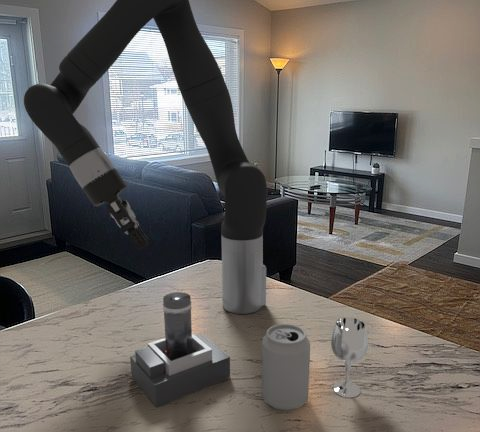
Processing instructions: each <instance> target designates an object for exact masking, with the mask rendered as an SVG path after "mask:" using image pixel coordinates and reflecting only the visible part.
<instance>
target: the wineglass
mask: <svg viewBox="0 0 480 432" xmlns="http://www.w3.org/2000/svg"><path fill="white" fill-rule="evenodd" d="M367 331H368V330H367V327H366V324H365V322H364V321H362V320H361V319H359V318H355V317H350V316H349V317H348V316H347V317H341V318H338V319H337V320H336V321H335V323H334V326H333V329H332V334H331V338H330V346H331V351H332V353H333V354H334V356H335V357H336V358H337V359H339V360H341V361H343V362H345V363H344V367H345V368H344V369H345V380H340V381H337V382H335V383H334V384H333V386H332V390H333V392H334V393H335V394H336V395H338V396H340V397H342V398H347V399H349V398H356V397H358V396H359V395H360V393H361V389H360V386H359V385H357V384H356V383H355V382H352V381H349V379H350V378H349V376H350V370H351V368H352V363H355V362H358V361H361V360H362V359H363V358H364V357H365V356H366V354H367V350H368V346H369V345H368V344H369V342H368V341H369V340H368V339H369V338H368V333H367Z"/></svg>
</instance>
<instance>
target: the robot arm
mask: <svg viewBox="0 0 480 432" xmlns="http://www.w3.org/2000/svg"><path fill="white" fill-rule="evenodd" d="M152 19H153V21H154V22H155V24H156V26H157V28H158V30H159V33H160V35H161V37H162V39H163V42H164V45H165V49H166V51H167V55H168V59H169V63H170V65H171V70H172V72H173V73H172V74H173V75H174V78H175V81H176V84H177V87H178V90H179V92H180V95H181V97H182V100H183V103H184V104H185V107H186V108H187V111H188V114H189V115H190V118H191V120H192V122H193V124H194V126H195V128H196V130H197V132H198V133H199V136H200V138H201V140H202V142H203V143H204V145H205V148H206V150H207V153H208V156H209V159H210V162H211V166H212V169H213V173H214V176H215V179H216V183H217V184H216V185H217V187H218V189H219V191H220V193H221V194H222V196H223V198H224V217H223V218H224V219H223V221H222V222H221V226H220V227H221V229H220V230H221V233H220V234H221V235H220V236H221V278H222V279H221V283H222V284H221V286H222V287H221V288H222V289H221V290H222V293H221V294H222V307H223V309H224V310H226V311H227V312H229V313H232V314H240V315H241V314H242V315H247V314H252V313H256V312H258V311H260V310H261V309H262V307H263V306H266V305H267V266H266V265H265V264H264V263H263V261H264V258H263V257H264V256H263V255H264V253H263V252H264V251H263V249H264V247H263V245H264V243H263V241H264V239H263V238H264V237H263V236H264V226H265V224H266V220H267V201H268V200H267V199H268V198H267V197H268V184H267V180H266V176H265V174H264V173H263V171H261V169H260V168H259V167H257V166H256V165H253V164H251V163H250V161H249V159H248V157H247V155H246V153H245V151H244V149H243V146H242V144H241V142H240V140H239V138H238V136H239V135H238V134H237V129H236V123H235V114H234V108H233V107H234V106H233V102H232V98H231V95H230V91H229V89H228V86H227V83H226V81H225V78H224V76H223V73H222V70H221V67H220V66H219V63H218V62H217V60H216V58H215V55H214V54H213V52H212V50H211V49H210V47H209V46H208V43H207V41H205V39H204V37H203V35H202V34H201V31H200V30H199V28H198V25H197V23H196V20H195V17H194V13H193V10H192V7H191V3H190V1H189V0H116V1H115V2H114V3H113V4H112V6H111V7H110V8H109V10H108V11H107V12H105V14H104V15H103V16H102V17H101V18H100V19H99V20H98V21H97V22H96V24H94V25H93V26H92V27H91V28H90V29H89V30H88V31H87V32H86V33H85V34H84V36H83V37H82V38H81V39H80V40H79V41H78V42H76V44H75V45H73V48H71V50H70V51H69V52H68V53H66V55H65V56H64V57H63V59H62V60H61V62H60V63H59V65H58V68H59V69H58V70H59V72H58V74H57V76H56V77H55V78H54V79H53V81H52V82H51V83H50V84H47V83H35V84H33V85H31V86H30V87H28V88H27V90H26V91H25V92H24V95H23V96H24V97H23V104H24V109H25V110H26V111H25V112H26V113H27V115H28V116H29V118H30V119H31V121H32V123H34V125H35V126H36V127H37V128H38V129H39V130H40V131H41V133H42V134H43V136H45V137H46V138H47V139H48V140H49V141H50V142H51V143H52V144H53V146H55V148H56V149H57V152H59V155H60V156H61V157H62V159H63V161H64V163H66V164H67V166H68V168H69V169H70V171H71V173H72V175H73V177H74V178H75V180H76V182H77V183H78V185H79V186H80V188H81V189H82V190H83V192H84V194H85V195H86V196H87V199H89V201H90V203H91V204H92V205H93V206H94V207H99V206H101V205H104V204H105V203H106V204H107V205H106V208H107V210H108V214H109V215H110V216H111V218H112V219H114V221H115V223H116V225H117V226H118V227H119V228H120V229H121V231H122V232H124V234H126V235H127V236H128V237H129V239H130V240H131V241H132V243H133V245H134V246H135V248H136V249H137V250H139V251H140V250H143V249H144V248H145V247H147V246H148V245H149V243H148V242H149V238H148V237H147V235H146V234H145V232H144V231H143V229H142V228H141V226H140V224H139V221H138V219H137V217H136V214H135V213H134V210H132V208H131V205H130V203H129V202H128V200H126V199H123V198H121V197H120V196H119V195H120V194H121V193H122V192H123V191H125V190H126V189H127V187H128V186H127V183H126V182H125V180H124V179H123V178H122V176H121V174H120V172H119V171H118V169H117V168H116V167H115V165H114V164H113V162H112V161H111V159H110V158H109V156H108V155H107V154H106V153H105V152H104V151H103V150H102V148H101V147H100V144H99V143H98V142H97V141H96V139H95V137H94V136H93V135H92V134H91V131H89V129H88V128H86V126H84V125H83V124H81V123H80V121H78V120H77V118H76V117H75V116H74V114H75V112H76V111H77V109H78V108H79V107H80V105H81V104H82V103H83V101H84V99H85V97H86V96H87V95H88V93H89V92H90V89H91V88H93V86H95V84H96V83H97V82H98V81H99V80H100V79H101V78H103V76H104V75H105V74H106V73H107V72H108V70H109V69H110V68H111V67H112V66H113V64H114V63H115V62H116V61H117V60H118V59H119V58H120V56H121V55H122V53H123V52H124V51H125V49H126V48H127V47H128V46H129V44H130V43H131V42H132V40H133V39H134V38H135V37H136V36H137V34H139V32H140V31H141V30H142V29H143V28H144V27H145V26H147V24H148V23H149V22H150V21H151V20H152Z"/></svg>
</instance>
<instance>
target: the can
mask: <svg viewBox="0 0 480 432" xmlns="http://www.w3.org/2000/svg"><path fill="white" fill-rule="evenodd" d="M261 343H262V346H261V347H262V349H261V350H262V351H261V352H262V353H261V356H262V358H261V359H262V361H261V365H262V366H261V368H262V370H261V375H262V376H261V397H262V398H263V400H264V402H266V403H267V404H268V405H269V406H271V407H272V408H273V409H276V410H279V411H288V412H290V411H294V410H297V409H298V408H300V407H301V406H303V405H304V404H306V403H307V401H308V399H309V393H310V392H309V390H310V389H309V388H310V386H309V385H310V367H311V366H310V362H311V359H310V358H311V357H310V356H311V340H310V339H309V338H308V335H307V332H306V330H304V328H302V327H300V325H299V326H298V325H295V324H292V323H291V324H290V323H279V324H274V325H272V326H271V327H269V328H268V329H267V330H266V333H265V335H264V336H263V338H262V342H261Z"/></svg>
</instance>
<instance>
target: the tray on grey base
mask: <svg viewBox="0 0 480 432" xmlns="http://www.w3.org/2000/svg"><path fill="white" fill-rule="evenodd" d="M165 351H166V343H165V337H164V338H161V339H158V340H154V341H151V342H148V343H147V346H146V347H143V348H141V349H137V350H135V352H134V353H135V354H134V355H131V356H130V357H129V359H130V369H131V370H130V373H131V374H130V375H131V378H132V380H133V381H134V382H135V383H136V384H137V385H138V387H139V388H140V389H141V390H142V392H143V393H144V394H145V395H146V397H147V398H148V399H149V400H150V402H152V404H153V405H154V406H155V408H158V407H160V406H164V405H165V404H168V403H170V402H173V401H175V400H178V399H180V398H183V397H186V396H188V395H190V394H192V393H193V394H194V393H195V392H197V391H200V390H202V389H203V390H204V389H205V388H207V387H210V386H212V385H215V384H217V383H220V382H221V381H225V380H227V379H229V378H231V357H230V356H229V355H228V354H227V353H226V352H225V351H224V350H222V349H220V347H218V346H217V345H216V344H215V343H214V342H212V340H209V339H208V338H207V337H206V336H205V335H203V334H202V333H201V332H200V333H198V334H197V333H196V334H194V333H193V332H192V354H190V355H187V356H184V357H181V358H178V359H175V360H173V361H170V360H169V359H168V358H167V357H166V354H165Z"/></svg>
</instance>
